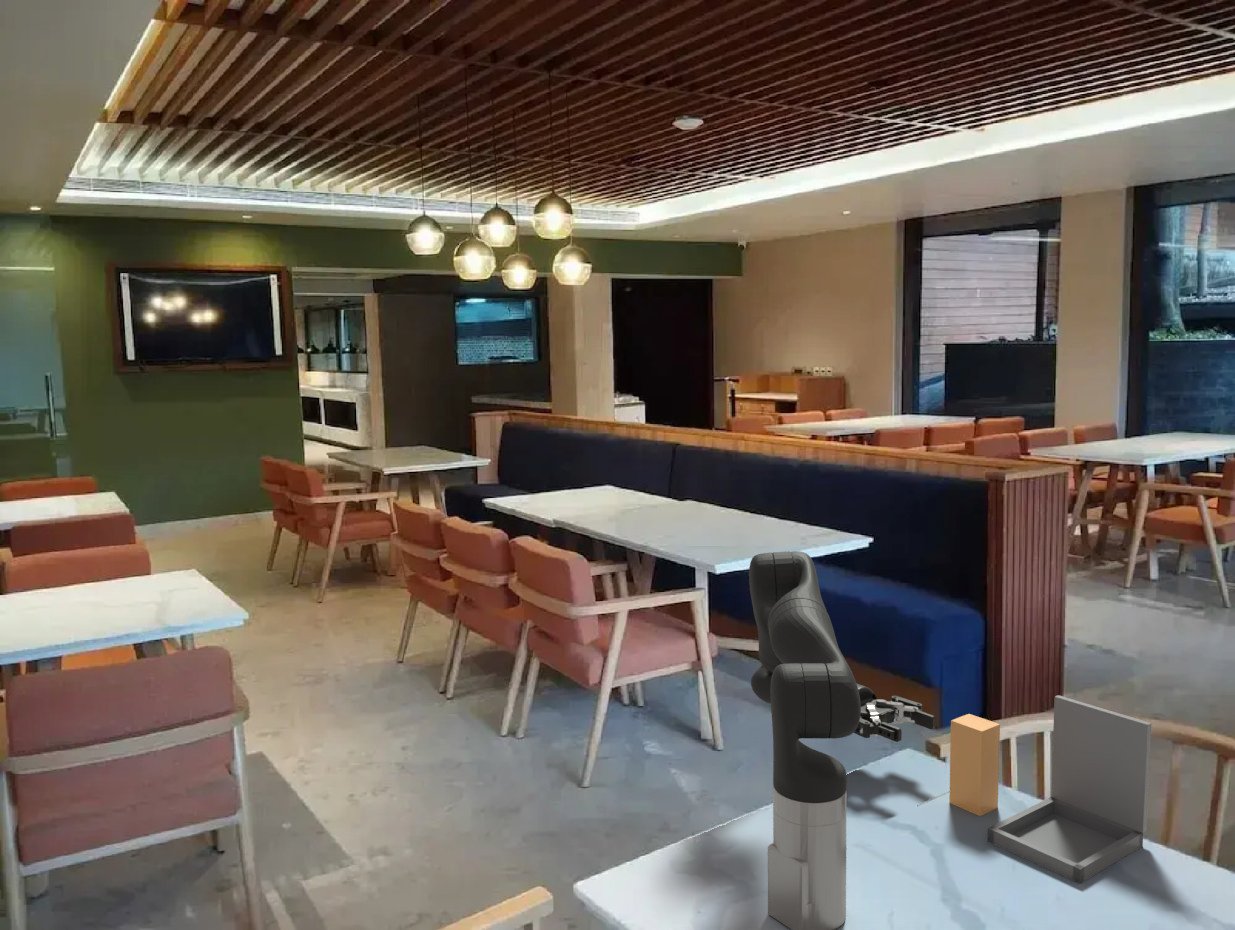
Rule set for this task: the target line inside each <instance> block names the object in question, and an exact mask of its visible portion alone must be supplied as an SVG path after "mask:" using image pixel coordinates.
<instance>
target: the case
mask: <svg viewBox="0 0 1235 930" xmlns="http://www.w3.org/2000/svg"><path fill="white" fill-rule="evenodd" d="M1053 698H1054V700H1053V701H1054V702H1053V703H1054V704H1053V731H1052V732H1053V733H1052V735H1053V736H1052V759H1051V760H1052V761H1051V762H1052V763H1051V765H1052V766H1051V768H1052V769H1051V794H1050V795H1051V796H1050V797H1048V798H1046V799H1044V800H1042V801H1040V802H1039V803H1036V804H1034V805H1033V806H1032V805H1031V806H1030V807H1028V808H1025V809H1024V810H1022V811H1020V812H1018V813H1016V814H1014V815H1012V816H1009V817H1008V818H1006V819H1004V820H1001V821H1000V822H998V823H995V824H994V825H991V826H989V827H988V828H987V843H990V844H992V845H994V846H996V847H998V848H1001V849H1003V850H1005V851H1007V852H1009V853H1011V854H1014V855H1016V856H1018V857H1021V858H1022V859H1025V860H1027V861H1030V862H1031V863H1034V864H1035V865H1038V866H1040V867H1042V868H1043V869H1044V868H1045V869H1046V870H1049V871H1051V872H1053V873H1055V874H1058V875H1060V876H1062V877H1064V878H1066V879H1069V880H1071V881H1073V882H1075V883H1077V884H1083V882H1085V881H1086V880H1088V879H1091V878H1092V877H1093V876H1095V875H1097V874H1099V873H1101V872H1102V871H1104V870H1106V869H1107V868H1109V867H1110V866H1112V865H1113V864H1116V863H1117V862H1118V861H1121V860H1122V859H1124V858H1126V857H1128V856H1129V855H1131V854H1133V853H1134V852H1136V851H1137V850H1139V849H1141V848H1142V847H1144V833H1146V832H1147V831H1148V830H1147V829H1148V810H1149V809H1148V808H1149V807H1148V806H1149V805H1148V804H1149V786H1150V785H1149V784H1150V783H1149V782H1150V768H1151V767H1150V766H1151V765H1150V763H1151V742H1152V741H1151V740H1152V723H1153V722H1149V721H1146V720H1142V719H1140V718H1136V717H1132V716H1129V715H1126V714H1122V713H1119V712H1116V711H1112V710H1109V709H1105V708H1102V707H1098V706H1097V705H1096V706H1095V705H1093V704H1089V703H1085V702H1083V701H1080V700H1079V701H1078V700H1076V699H1073V698H1069V697H1066V696H1063V695H1060V694H1058V695H1055V696H1054V697H1053Z"/></svg>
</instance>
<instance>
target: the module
mask: <svg viewBox="0 0 1235 930" xmlns="http://www.w3.org/2000/svg"><path fill="white" fill-rule="evenodd" d="M1000 730H1001V724H1000V723H997V722H995V721H991V720H990V719H989V720H988V719H987V718H982V717H979V716H976V715H973V714H970V713H968V714H967V713H966V714H965V715H964V714H963V715H962V716H959V717H956V718H954V719H952V720H950V749H949V751H950V757H949V758H950V759H949V760H950V761H949V762H950V763H949V791H950V792H949V804H952V805H953V806H955V807H957V808H960V809H962V810H965V811H967V812H970V813H972V814H974V815H977V816H979V817H981V816H983V815H986V814H988V813H989V812H992V811H994V810H996V809H998V808H999V780H1000V779H999V778H1000V777H999V774H1000V773H999V771H1000V738H1001V736H1000V735H1001V734H1000V733H1001V731H1000Z"/></svg>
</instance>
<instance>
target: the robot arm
mask: <svg viewBox="0 0 1235 930" xmlns="http://www.w3.org/2000/svg"><path fill="white" fill-rule="evenodd" d="M748 569H749V571H748V579H749V583H748V584H749V593H750V599H751V605H752V608H753V609H752V612H753V616H754V620H755V623H756V627H757V634H758V658H759V661H760V663H761V665H760V666H759V668H758V669H757V670H756V671H755V672H754V673H753V674H752V676H751V679H750V687H751V689H752V691H753V693H754V695H755V696H756V697H758V698H759V700H761V701H762V702H765V703H766V704H770V710H771V711H770V713H771V723H772V724H771V726H772V727H771V728H772V741H773V742H772V746H773V747H772V748H773V749H772V752H773V756H772V757H773V758H772V759H773V760H772V761H773V767H772V768H773V770H772V771H773V772H772V785H773V786H772V787H773V788H772V799H773V801H772V808H773V809H772V815H773V816H772V819H773V820H772V821H773V822H772V823H773V824H772V827H773V828H772V829H773V830H772V831H773V834H772V836H773V837H772V838H773V839H772V841H773V842H772V843H770V844H768V846H767V914H768V915H769V916H771V917H772V918H773V919H775V920H777V921H778V922H779V923H781V924H783V926H786V927H787V928H789V929H790V930H836V929H838V928H840V927H841V926H842V925H843V924H844V922H845V921H846V917H847V799H848V798H847V790H848V789H847V788H848V787H847V786H848V784H847V782H848V781H847V780H848V775H847V772H846V768H845V766H844V765H843V764H842V762H840V761H839V760H838V759H837V758H835V757H834V756H832V755H829V754H827V753H824V752H822V751H818V750H816V749H813V748H812V747H810V746H808V745H805V744H804V743H803V742H802V741H801V740H800V739H820V740H821V739H829V740H830V739H841V738H842V739H843V738H847V737H849V736H851V735H852V734H855V735H858V736H860V737H862V738H864V739H870V737H871V735H872V736H874V737H877V738H878V737H883V738H886V739H888V740H890V741H893V742H896V743H898V742H901V741H902V737H903V736H902V734H903V733H902V732H903V731H902V729H901V728H900V727H898V726H896V725H903V724H904V723H912V724H913V723H914V724H916V725H919V726H921V727H924V728H926V729H929V730H933V729H935V728H936V726H937V725H936V720H937V718H936V716H935V715H932V714H931V713H930V714H929V713H927V712H925V711H923V704H922V703H921V702H918V701H917V702H916V701H913V700H910V699H907V698H904V697H901V696H899V695H892V696H891V700H890V701H887V700H886V699H879V698H878V697H877V696H876V694H875V693H874V691H873V690H872V689H871V688H870V687H867V686H865V685H862V684H859V683H858V682H856V679H855V676H854V673H853V671H852V669H851V667H850V666H849V664H848V662H847V660H846V659H845V657H844V655H843V653H842V651H841V649H840V648H839V645H838V641H837V637H836V635H835V634H836V633H835V630H834V627H833V624H832V620H831V618H830V614H829V613H828V611H827V608H826V606H825V604H824V600H823V598H822V595H821V590H820V585H819V578H818V575H817V569H816V566H815V563H814V561H813V559H812V558H811V556H810V555H809V554H808V553H806V552H803V551H798V550H792V551H777V552H775V551H774V552H763V553H758V554H756V555H754V556H752V558H751V560H750V563H749V568H748ZM896 714H898V717H897V718H896ZM892 724H894V725H892Z"/></svg>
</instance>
